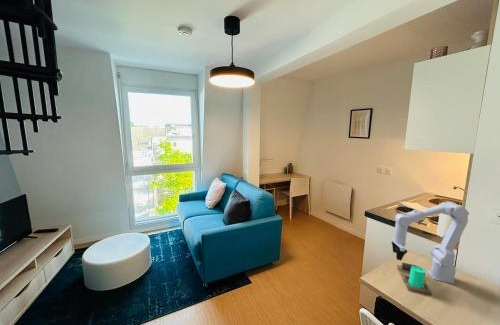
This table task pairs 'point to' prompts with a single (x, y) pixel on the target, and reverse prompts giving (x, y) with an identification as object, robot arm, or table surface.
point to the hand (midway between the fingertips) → (397, 255)
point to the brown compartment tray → (405, 275)
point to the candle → (417, 277)
